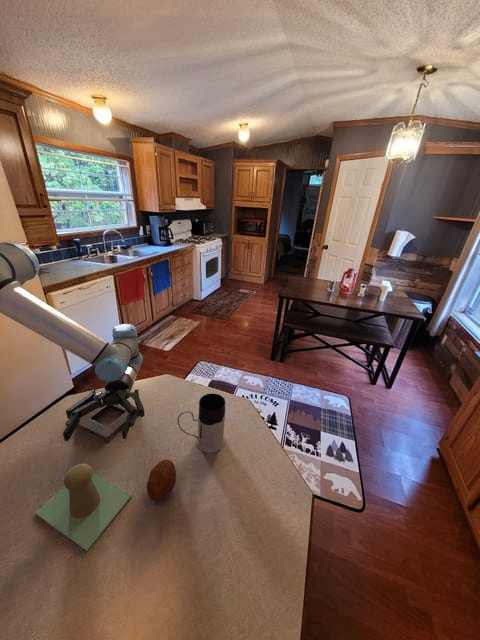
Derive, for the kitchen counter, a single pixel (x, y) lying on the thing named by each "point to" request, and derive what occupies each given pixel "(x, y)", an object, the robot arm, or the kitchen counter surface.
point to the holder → (100, 430)
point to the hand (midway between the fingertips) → (94, 436)
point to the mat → (89, 526)
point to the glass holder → (209, 423)
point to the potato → (161, 480)
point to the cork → (81, 491)
